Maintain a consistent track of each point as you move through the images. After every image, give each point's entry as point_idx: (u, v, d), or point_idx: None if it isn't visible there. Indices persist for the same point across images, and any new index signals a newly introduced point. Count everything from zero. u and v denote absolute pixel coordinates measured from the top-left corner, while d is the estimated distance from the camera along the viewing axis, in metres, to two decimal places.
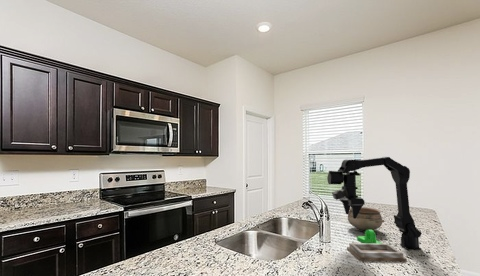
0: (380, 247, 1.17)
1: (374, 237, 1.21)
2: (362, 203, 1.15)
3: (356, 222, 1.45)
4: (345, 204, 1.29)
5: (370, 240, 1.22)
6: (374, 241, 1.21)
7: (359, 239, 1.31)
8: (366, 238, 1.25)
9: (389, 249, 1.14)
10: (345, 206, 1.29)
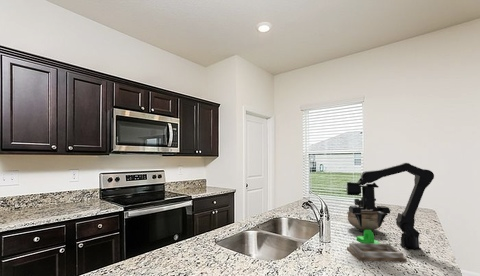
0: (380, 247, 1.17)
1: (372, 237, 1.21)
2: (352, 211, 1.27)
3: (356, 222, 1.45)
4: (378, 216, 1.28)
5: (368, 240, 1.22)
6: (372, 241, 1.21)
7: (358, 239, 1.31)
8: (364, 238, 1.25)
9: (389, 249, 1.14)
10: (378, 218, 1.28)
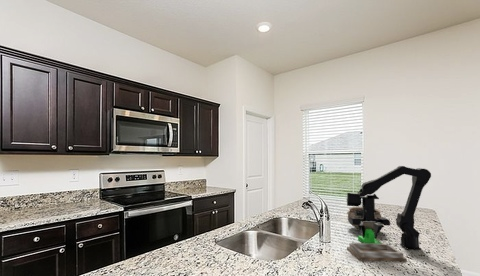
0: (380, 247, 1.17)
1: (372, 236, 1.21)
2: (352, 222, 1.26)
3: None
4: (374, 228, 1.28)
5: (369, 239, 1.22)
6: (372, 240, 1.21)
7: (360, 238, 1.31)
8: (365, 237, 1.25)
9: (389, 249, 1.14)
10: (374, 230, 1.28)
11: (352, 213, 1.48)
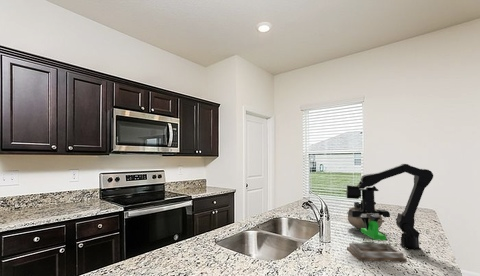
0: (380, 247, 1.17)
1: (376, 228, 1.21)
2: (351, 215, 1.27)
3: (356, 222, 1.45)
4: (371, 220, 1.28)
5: (372, 231, 1.23)
6: (376, 232, 1.21)
7: (362, 230, 1.31)
8: (369, 229, 1.26)
9: (389, 249, 1.14)
10: None
11: None
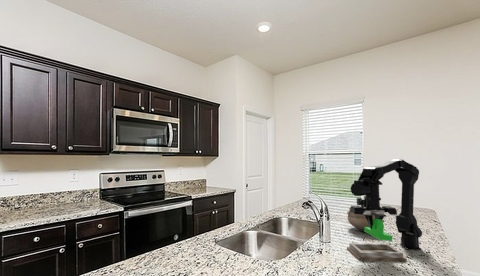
0: (380, 247, 1.17)
1: (381, 227, 1.07)
2: (354, 212, 1.13)
3: (356, 222, 1.45)
4: (375, 218, 1.14)
5: (377, 230, 1.09)
6: (381, 231, 1.07)
7: (366, 230, 1.17)
8: (373, 228, 1.11)
9: (389, 249, 1.14)
10: None
11: (352, 213, 1.48)
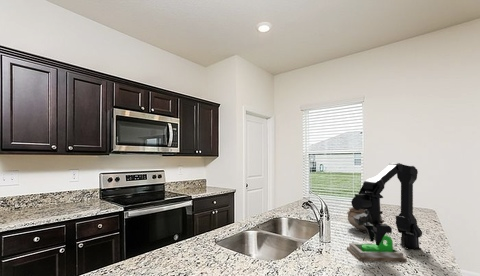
0: None
1: None
2: (389, 231, 1.04)
3: None
4: (369, 230, 1.16)
5: (389, 246, 1.11)
6: None
7: (370, 251, 1.11)
8: (382, 246, 1.11)
9: None
10: (369, 232, 1.16)
11: (352, 213, 1.48)
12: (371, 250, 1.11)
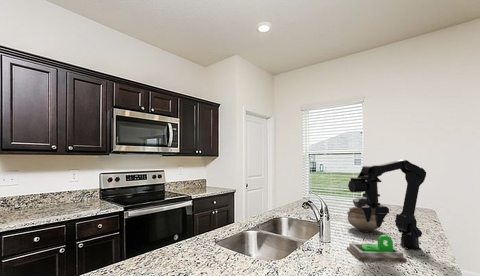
0: None
1: None
2: (387, 211, 1.11)
3: (356, 222, 1.45)
4: (366, 212, 1.25)
5: (389, 246, 1.10)
6: None
7: (369, 251, 1.10)
8: (382, 246, 1.10)
9: None
10: (366, 214, 1.24)
11: (352, 213, 1.48)
12: (371, 250, 1.10)
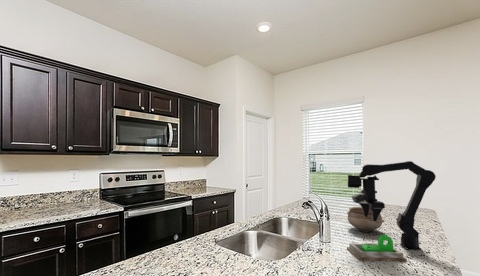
0: None
1: None
2: (382, 207, 1.20)
3: (356, 222, 1.45)
4: (364, 207, 1.34)
5: (389, 247, 1.10)
6: None
7: (369, 251, 1.10)
8: (382, 246, 1.10)
9: None
10: (364, 209, 1.34)
11: (352, 213, 1.48)
12: (371, 250, 1.10)
